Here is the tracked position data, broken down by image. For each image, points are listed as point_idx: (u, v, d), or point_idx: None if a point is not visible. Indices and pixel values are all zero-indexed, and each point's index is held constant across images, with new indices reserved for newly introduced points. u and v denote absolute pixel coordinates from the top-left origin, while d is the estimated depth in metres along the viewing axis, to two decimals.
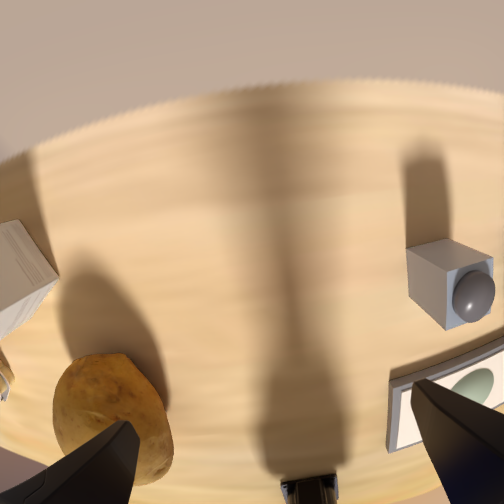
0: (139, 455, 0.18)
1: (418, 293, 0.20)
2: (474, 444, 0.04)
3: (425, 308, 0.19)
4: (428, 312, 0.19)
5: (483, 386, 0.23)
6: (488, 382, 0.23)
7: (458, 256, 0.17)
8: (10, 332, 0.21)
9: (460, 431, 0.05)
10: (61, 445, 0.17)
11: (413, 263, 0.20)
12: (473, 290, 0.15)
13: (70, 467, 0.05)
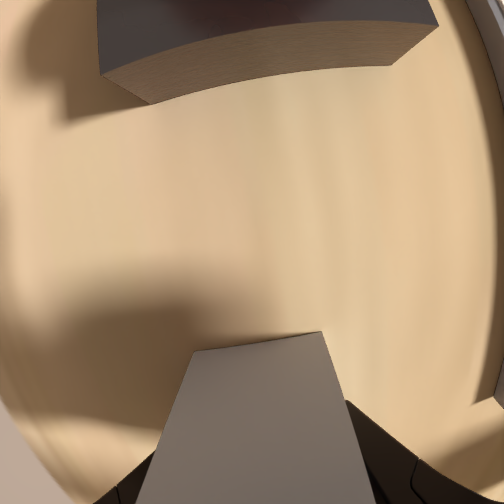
0: None
1: None
2: (371, 483, 0.04)
3: None
4: None
5: None
6: None
7: None
8: None
9: None
10: None
11: None
12: None
13: None
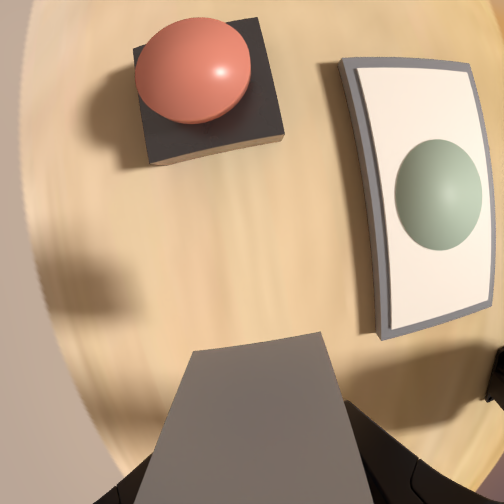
0: None
1: None
2: (371, 483, 0.04)
3: None
4: None
5: (432, 162, 0.16)
6: (427, 154, 0.16)
7: None
8: None
9: None
10: None
11: None
12: None
13: None
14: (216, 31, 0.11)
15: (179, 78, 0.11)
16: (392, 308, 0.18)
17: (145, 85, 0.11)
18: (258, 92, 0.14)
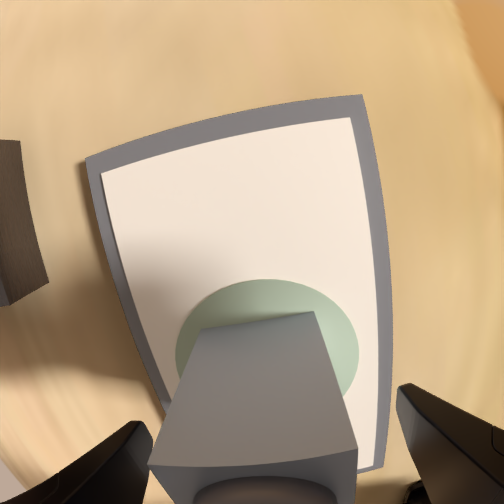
0: None
1: None
2: (455, 453, 0.04)
3: None
4: None
5: (242, 321, 0.11)
6: (229, 311, 0.11)
7: None
8: None
9: (442, 439, 0.05)
10: None
11: None
12: None
13: (84, 470, 0.05)
14: None
15: None
16: None
17: None
18: None
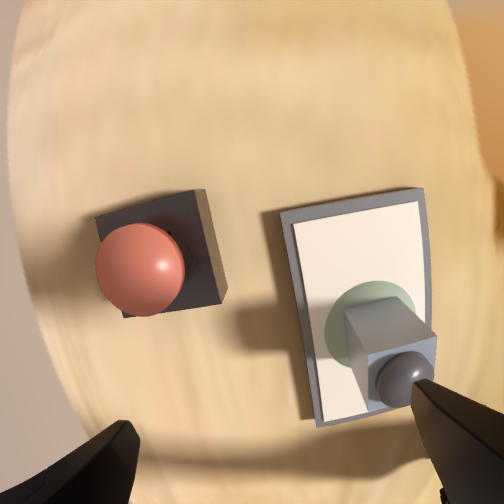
0: None
1: None
2: (474, 444, 0.04)
3: None
4: None
5: (363, 302, 0.20)
6: (358, 297, 0.20)
7: (360, 364, 0.16)
8: None
9: (460, 431, 0.05)
10: None
11: None
12: (395, 393, 0.14)
13: (70, 467, 0.05)
14: (150, 243, 0.15)
15: (128, 284, 0.16)
16: (323, 408, 0.22)
17: (105, 284, 0.16)
18: (198, 269, 0.18)
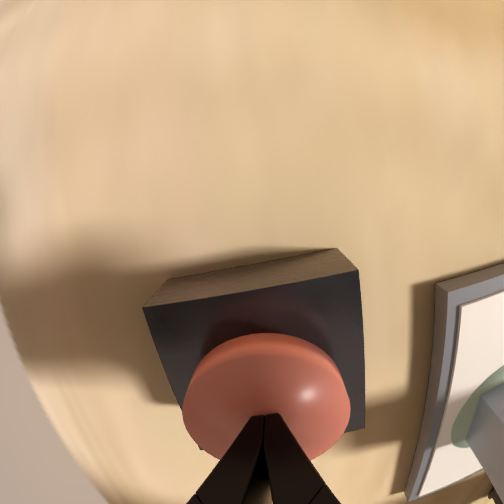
0: None
1: None
2: None
3: None
4: None
5: (498, 384, 0.12)
6: (496, 381, 0.12)
7: None
8: None
9: None
10: None
11: None
12: None
13: (232, 483, 0.05)
14: (307, 382, 0.08)
15: None
16: (423, 487, 0.14)
17: (202, 435, 0.08)
18: None
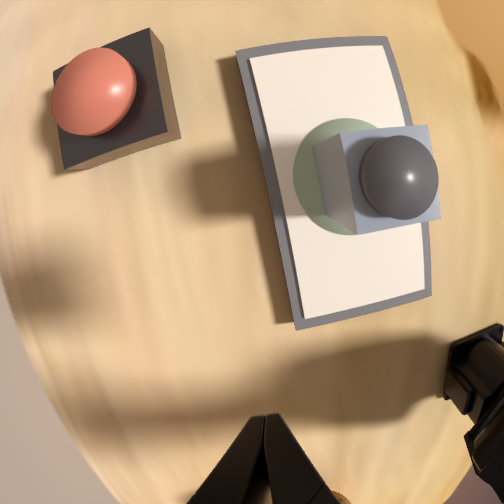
0: None
1: None
2: None
3: None
4: None
5: None
6: (329, 135, 0.17)
7: (337, 178, 0.13)
8: None
9: None
10: None
11: None
12: (390, 190, 0.10)
13: (232, 483, 0.05)
14: (105, 58, 0.12)
15: (79, 101, 0.13)
16: (302, 296, 0.19)
17: (57, 109, 0.13)
18: (146, 97, 0.15)
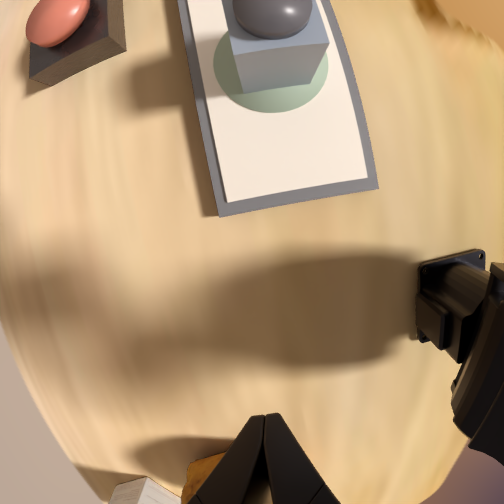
0: None
1: (297, 76, 0.15)
2: None
3: (313, 67, 0.13)
4: (317, 63, 0.13)
5: None
6: None
7: None
8: None
9: None
10: None
11: (257, 85, 0.15)
12: (258, 10, 0.09)
13: (232, 483, 0.05)
14: None
15: (45, 20, 0.12)
16: (223, 176, 0.18)
17: (29, 29, 0.12)
18: (96, 15, 0.14)
